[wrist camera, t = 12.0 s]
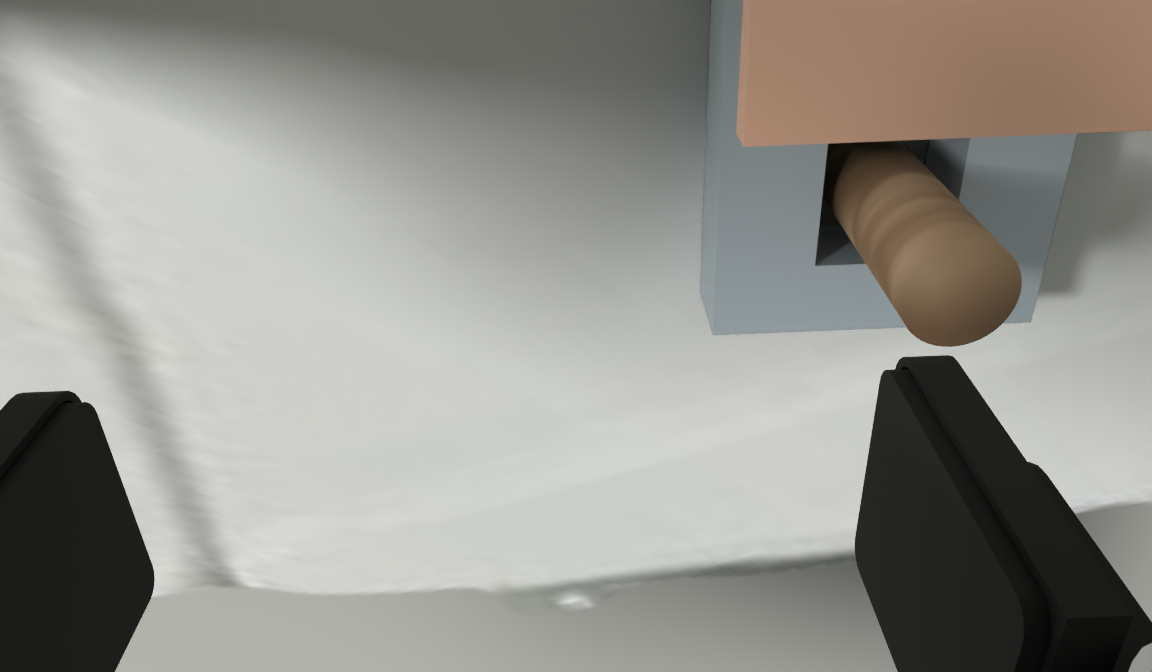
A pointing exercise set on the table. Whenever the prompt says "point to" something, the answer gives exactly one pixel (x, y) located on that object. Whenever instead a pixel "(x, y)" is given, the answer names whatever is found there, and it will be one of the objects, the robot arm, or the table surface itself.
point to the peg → (920, 243)
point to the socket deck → (823, 259)
